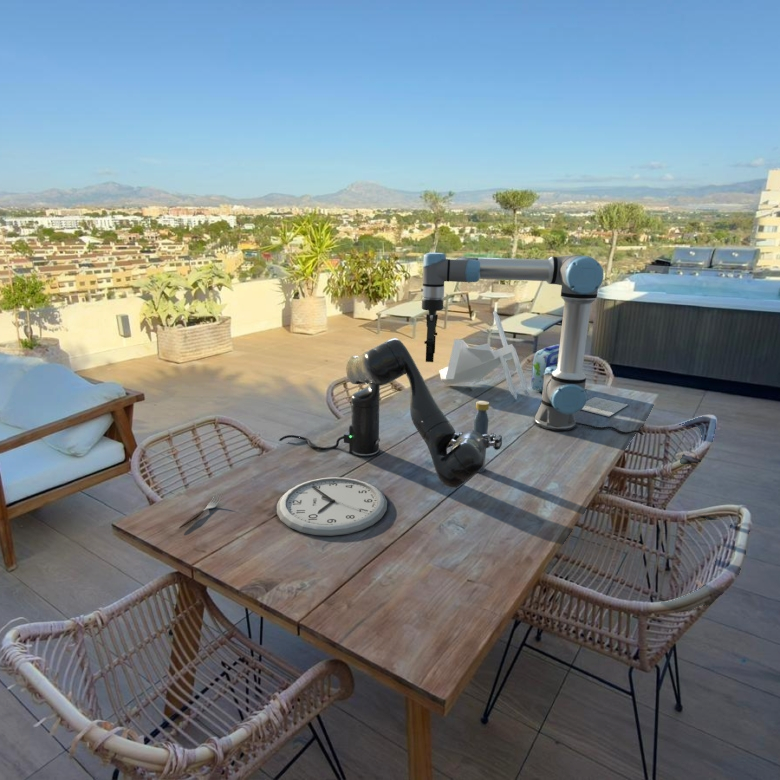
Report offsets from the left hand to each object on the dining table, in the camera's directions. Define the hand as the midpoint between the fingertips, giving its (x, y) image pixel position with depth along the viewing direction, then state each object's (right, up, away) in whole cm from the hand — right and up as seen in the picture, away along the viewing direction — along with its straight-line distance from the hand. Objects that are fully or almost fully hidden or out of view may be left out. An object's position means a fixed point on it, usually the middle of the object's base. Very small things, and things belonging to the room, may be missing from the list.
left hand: (476, 435), depth 144 cm
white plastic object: (+18, +11, +99) cm, 101 cm away
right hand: (-9, +24, +46) cm, 53 cm away
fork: (-74, -20, -7) cm, 77 cm away
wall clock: (-40, -19, -1) cm, 44 cm away
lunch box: (+53, +13, +106) cm, 119 cm away
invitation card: (+68, +5, +82) cm, 107 cm away
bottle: (+4, -13, +22) cm, 25 cm away
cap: (+4, +8, +15) cm, 18 cm away
